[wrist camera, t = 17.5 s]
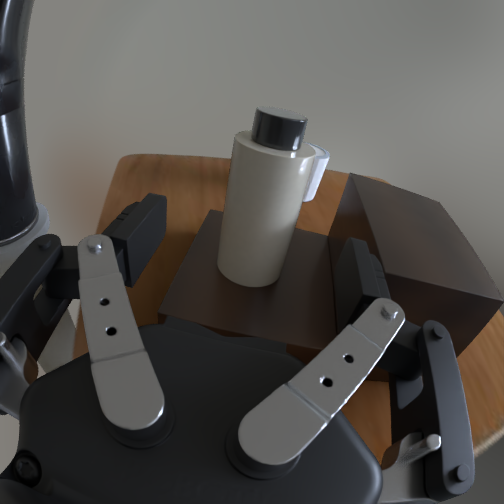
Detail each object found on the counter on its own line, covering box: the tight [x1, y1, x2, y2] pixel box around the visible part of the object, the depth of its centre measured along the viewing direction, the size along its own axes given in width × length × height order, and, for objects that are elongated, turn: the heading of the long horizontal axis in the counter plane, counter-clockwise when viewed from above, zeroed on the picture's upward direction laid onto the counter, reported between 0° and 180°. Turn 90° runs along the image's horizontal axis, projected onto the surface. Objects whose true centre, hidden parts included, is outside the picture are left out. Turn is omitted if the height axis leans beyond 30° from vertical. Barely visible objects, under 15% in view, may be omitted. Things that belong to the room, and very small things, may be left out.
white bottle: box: [217, 107, 316, 287], centre depth 20 cm, size 5×5×12 cm
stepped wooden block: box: [157, 173, 504, 383], centre depth 23 cm, size 22×14×10 cm, turn 82°
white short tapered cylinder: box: [303, 142, 330, 202], centre depth 41 cm, size 7×7×7 cm
